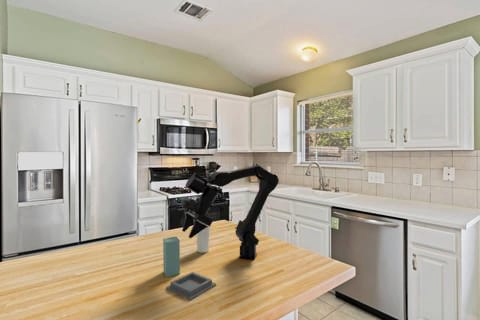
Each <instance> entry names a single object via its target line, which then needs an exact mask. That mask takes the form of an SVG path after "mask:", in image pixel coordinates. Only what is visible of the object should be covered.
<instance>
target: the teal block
mask: <svg viewBox="0 0 480 320" xmlns="http://www.w3.org/2000/svg"><path fill="white" fill-rule="evenodd" d="M162 240H163V241H162V243H163V249H162V252H163V253H162V254H163V257H162V258H163V263H162V264H163V274H164V275H165V277H166V278H168V277H173V276H177V275H181V274H180V273H181V267H180V264H181V263H180V262H181V261H180V259H181V258H180V256H181V255H180V253H181V251H180V250H181V249H180V246H181V245H180V244H181V243H180V239H179V238H178V237H177V236H172V237H171V236H169V237H163V239H162Z"/></svg>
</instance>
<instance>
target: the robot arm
mask: <svg viewBox="0 0 480 320" xmlns="http://www.w3.org/2000/svg"><path fill="white" fill-rule="evenodd" d="M252 176H255V178H257V179H258V180H259V183H258V191H257V193H256V196H255V197H254V200H253V202H252V204H251V206H250V209H249V210H248V211H247V215H246V217H245V218H244V220H239V221H238V222H237V225H236V226H235V235H236V237H237V238H238V239H239V241H240V245H239V259H241V260H242V259H244V260H255V259H256V258H257V255H258V253H257V246H258V245H259V242H260V240H259V239H258V237H256V236H255V233H256V223H257V221H258V219H259V217H260V214H261V212H262V210H263V207H264V206H265V204H266V202H267V199H268V197H269V195H270V194H271V193H272V192H273V191H274V190H275V189H276V188H277V186H278V184H279V181H280V180H279V177H278V176H277V174H275V173H272V172H270V171H268V170H266V169H265V168H263V167H262V166H261V165H258V164H257V165H256V164H254V165H251V166H246V167H243V168H239V169H235V170H230V171H214V172H212V173H211V174H210V176H207V177H205V178H204V177H202V176H201V175H200V174H198V173H197V172H194V173H193V174H192V175H191V176H190V178H188V179H187V181H186V183H185V188H186V189H188V190H189V191H192V192H193V193H194V194H197V195H199V194H200V196H199V197H196V199H194V198H193V199H192V198H181V203H180V207H182V208H183V212H184V217H185V219H184V222H183V227H182V232H186V231H187V230H188V229H189V228H191V230H190V232H189V235H188V238H189V239H192V238H194V237H196V234H198V233H199V232H200V231H202V230H203V229H205V228H206V227H208V226H210V227H211V226H212V224H213V219H212V218H211V217H209V216H208V211H210V209H212V208H213V207H214V206H213V203H214V201H215V200H216V198H217V196H218V195H220V196H224V193H223V189H222V187H225V186H227V185H229V184H230V183H232V182H233V181H237V180H241V179H245V178H248V177H252ZM208 184H209V185H208ZM210 185H211V186H210ZM217 187H219V188H217ZM207 225H208V226H207Z"/></svg>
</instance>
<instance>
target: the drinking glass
mask: <svg viewBox="0 0 480 320" xmlns="http://www.w3.org/2000/svg"><path fill="white" fill-rule="evenodd" d="M207 226H208V225H207ZM210 235H211V226H208V227H206V228H205V229H203V230H202V231H200V232H199V233H198V234H196V235H195V237H196V247H197V248H196V250H197V252H198V253H200V254H205V253H208V252H209V250H210V247H209V246H210Z"/></svg>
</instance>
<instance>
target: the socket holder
mask: <svg viewBox="0 0 480 320" xmlns="http://www.w3.org/2000/svg"><path fill="white" fill-rule="evenodd" d="M215 287H217V283H215V282H213V279H211V278H209V277H206V276H204V275H201V274H199V273H196V272H195V271H192V272H190V273H189V272H188V273H187V274H185V275H183V276H181V277H178V278H177V279H174V280H172V281H170V283H169V285H167V286H166V287H165V289H166V290H168V291H169V292H172V293H174V294H176V295H178V296H180V297H182V298H184V299H186V300H188V301H192V300H193V299H194V300H195V299H196V298H197V297H199V296H201V295H202V294H204V293H207V292H208V291H209V290H211V289H213V288H215Z"/></svg>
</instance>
